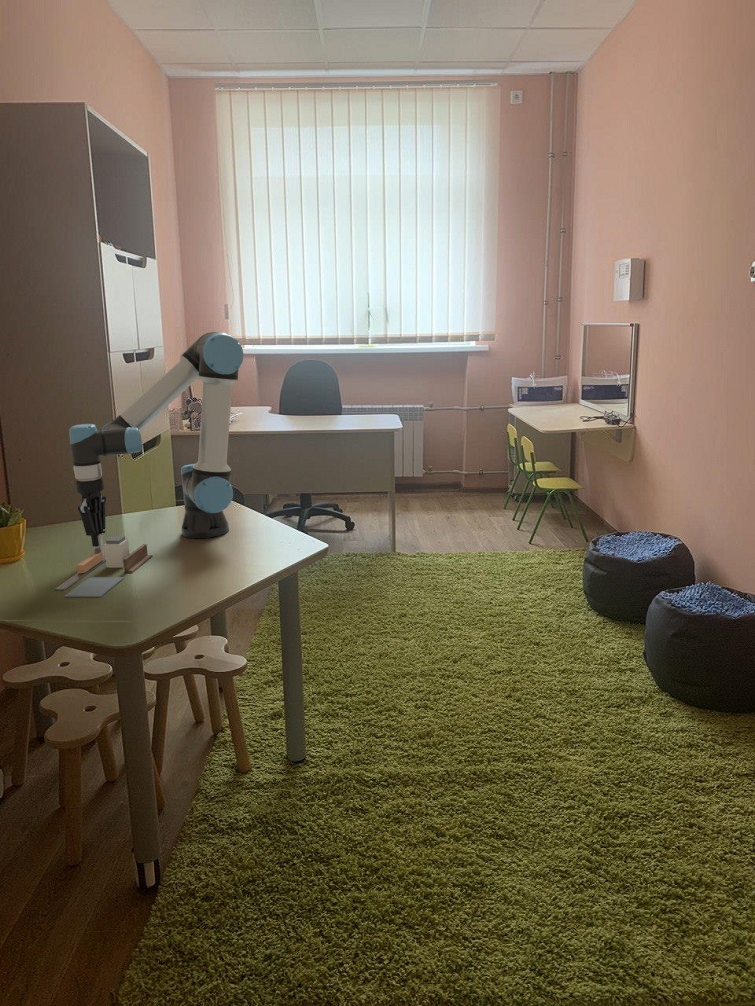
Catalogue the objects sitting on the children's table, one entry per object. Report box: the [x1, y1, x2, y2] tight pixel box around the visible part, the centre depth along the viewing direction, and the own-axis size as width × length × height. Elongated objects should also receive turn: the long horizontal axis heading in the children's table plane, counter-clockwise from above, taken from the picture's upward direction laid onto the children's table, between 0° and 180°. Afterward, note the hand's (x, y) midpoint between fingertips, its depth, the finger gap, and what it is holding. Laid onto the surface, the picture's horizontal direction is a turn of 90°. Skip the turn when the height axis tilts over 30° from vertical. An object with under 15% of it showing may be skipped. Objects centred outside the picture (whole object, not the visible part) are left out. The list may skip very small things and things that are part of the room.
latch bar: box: [76, 548, 104, 574], centre depth 230 cm, size 2×12×4 cm, turn 173°
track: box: [54, 555, 106, 591], centre depth 227 cm, size 3×28×1 cm, turn 173°
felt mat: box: [64, 576, 125, 598], centre depth 214 cm, size 10×14×1 cm
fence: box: [123, 543, 153, 574], centre depth 231 cm, size 2×14×4 cm, turn 173°
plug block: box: [103, 536, 131, 569], centre depth 232 cm, size 5×5×8 cm
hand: (99, 555), depth 237 cm, fingers closed
